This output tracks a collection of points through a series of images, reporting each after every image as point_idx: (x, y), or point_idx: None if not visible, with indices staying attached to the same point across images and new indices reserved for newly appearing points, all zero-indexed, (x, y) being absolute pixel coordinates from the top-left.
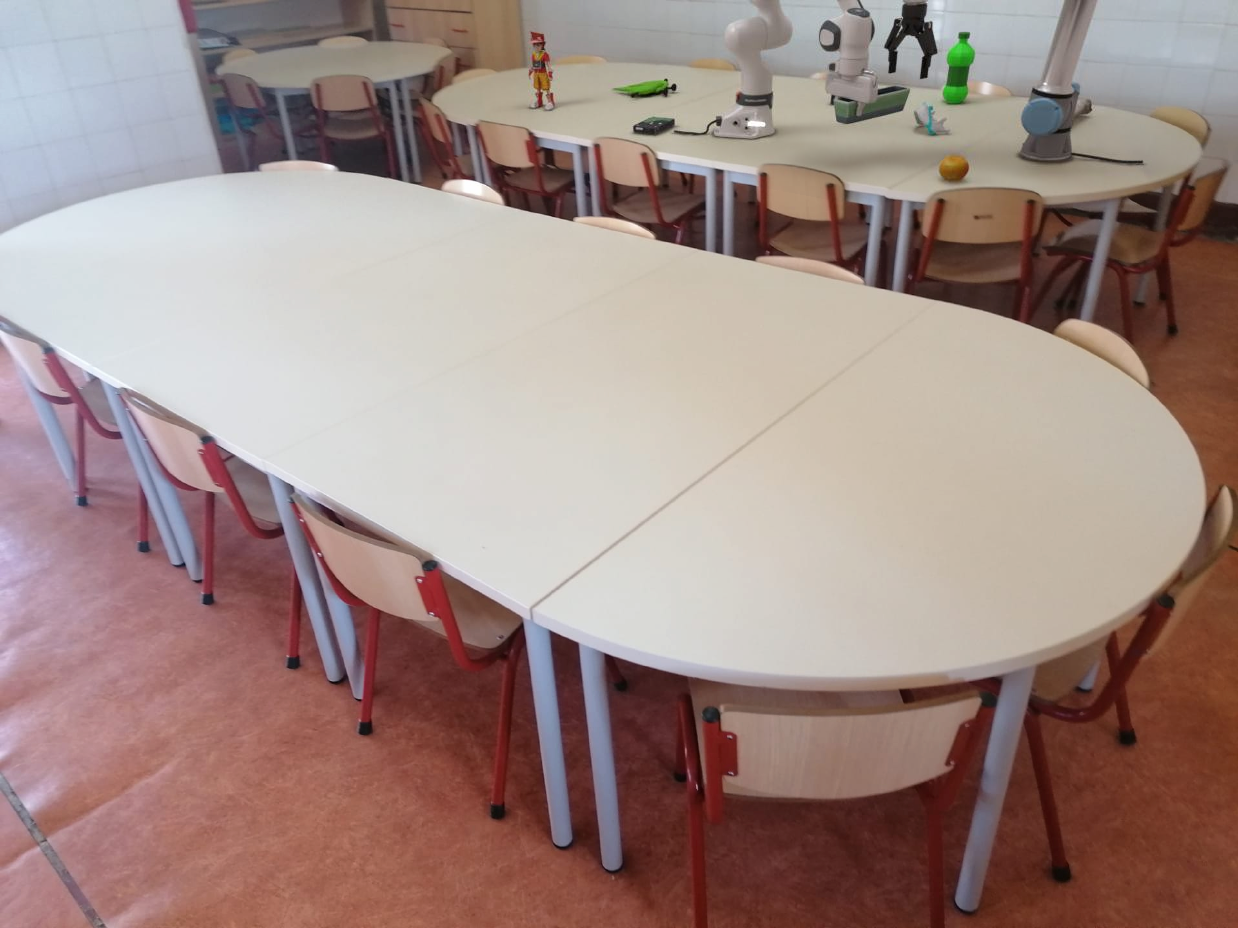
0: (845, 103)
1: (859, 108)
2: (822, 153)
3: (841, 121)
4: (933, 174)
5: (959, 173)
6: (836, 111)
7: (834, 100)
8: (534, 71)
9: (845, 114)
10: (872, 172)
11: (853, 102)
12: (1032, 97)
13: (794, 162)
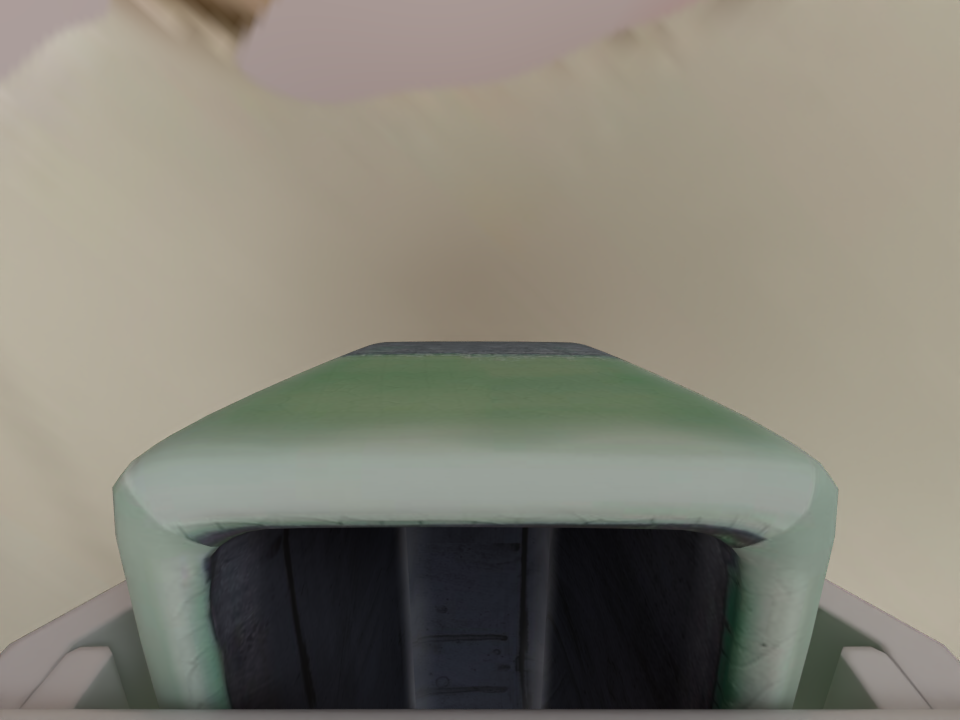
0: (224, 445)
1: (107, 600)
2: (771, 373)
3: (470, 344)
4: (14, 546)
5: None
6: (601, 368)
7: (766, 451)
8: None
9: (335, 366)
10: (228, 327)
11: (144, 638)
12: None
13: (795, 55)
